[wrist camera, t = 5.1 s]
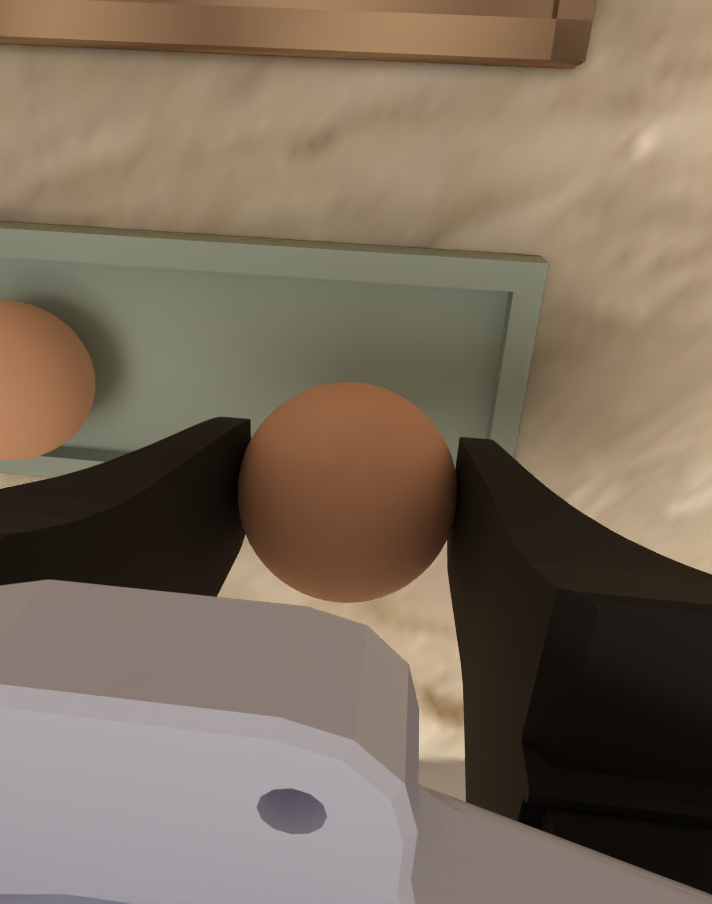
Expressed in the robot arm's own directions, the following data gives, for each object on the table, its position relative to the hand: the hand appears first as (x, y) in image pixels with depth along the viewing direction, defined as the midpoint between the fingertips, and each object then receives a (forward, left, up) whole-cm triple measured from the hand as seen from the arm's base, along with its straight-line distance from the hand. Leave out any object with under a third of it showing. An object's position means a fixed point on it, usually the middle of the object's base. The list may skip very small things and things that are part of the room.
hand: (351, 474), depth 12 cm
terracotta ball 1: (-9, 0, -3) cm, 10 cm away
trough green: (-5, 0, -6) cm, 7 cm away
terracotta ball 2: (0, 0, +1) cm, 1 cm away
